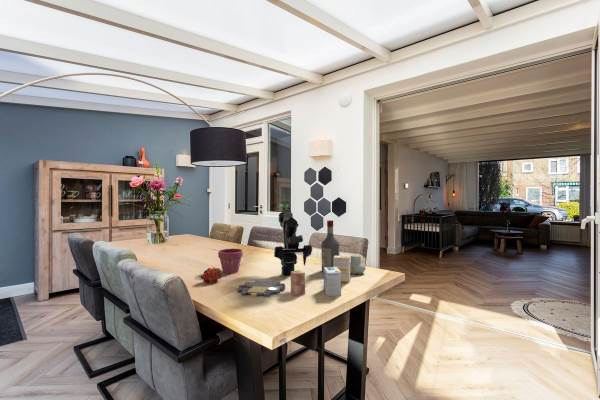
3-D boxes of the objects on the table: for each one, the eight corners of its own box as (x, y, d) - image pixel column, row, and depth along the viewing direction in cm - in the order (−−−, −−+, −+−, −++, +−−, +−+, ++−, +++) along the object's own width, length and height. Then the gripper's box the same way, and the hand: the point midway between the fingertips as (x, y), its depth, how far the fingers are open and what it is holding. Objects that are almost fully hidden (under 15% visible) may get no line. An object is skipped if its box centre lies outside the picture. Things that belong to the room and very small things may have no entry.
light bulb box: (323, 289, 150) (323, 266, 150) (337, 288, 151) (336, 266, 151) (327, 296, 140) (326, 272, 139) (341, 295, 140) (341, 272, 140)
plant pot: (247, 270, 187) (247, 249, 187) (231, 276, 175) (230, 253, 175) (230, 267, 195) (230, 247, 194) (213, 272, 183) (213, 251, 182)
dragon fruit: (224, 283, 167) (202, 290, 160) (218, 271, 172) (197, 278, 165) (226, 273, 162) (203, 280, 155) (220, 261, 167) (197, 268, 160)
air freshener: (367, 273, 177) (367, 256, 176) (357, 276, 172) (357, 258, 172) (354, 269, 186) (354, 253, 185) (344, 272, 181) (344, 255, 181)
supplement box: (350, 280, 164) (350, 255, 164) (349, 283, 159) (348, 257, 159) (335, 279, 167) (335, 255, 166) (333, 281, 162) (333, 256, 162)
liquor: (328, 274, 177) (327, 221, 176) (320, 270, 185) (319, 220, 184) (341, 271, 181) (341, 220, 180) (332, 268, 189) (332, 219, 189)
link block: (300, 291, 148) (300, 270, 147) (305, 294, 143) (304, 272, 143) (290, 292, 145) (290, 271, 145) (295, 295, 141) (295, 273, 141)
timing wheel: (248, 281, 165) (248, 278, 165) (290, 283, 160) (290, 280, 160) (229, 295, 142) (229, 292, 142) (278, 298, 138) (278, 295, 138)
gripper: (274, 230, 152) (277, 257, 142) (311, 229, 156) (317, 255, 145) (272, 243, 160) (275, 270, 150) (308, 242, 164) (313, 267, 153)
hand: (295, 265), depth 149 cm, fingers open, 9 cm apart
